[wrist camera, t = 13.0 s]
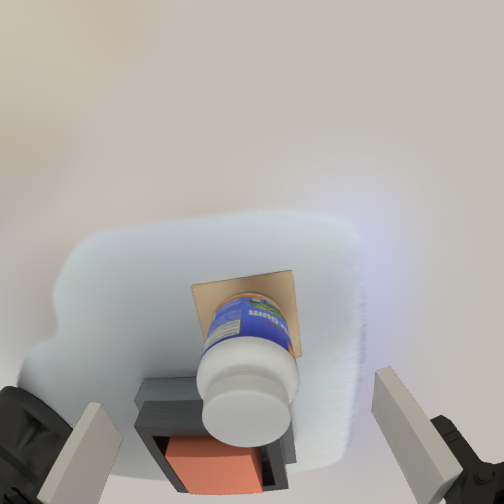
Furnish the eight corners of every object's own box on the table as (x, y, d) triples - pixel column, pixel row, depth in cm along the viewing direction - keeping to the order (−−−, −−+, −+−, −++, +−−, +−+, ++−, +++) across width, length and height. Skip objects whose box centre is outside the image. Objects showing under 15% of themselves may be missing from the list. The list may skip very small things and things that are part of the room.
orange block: (197, 453, 22) (190, 494, 17) (177, 411, 21) (164, 456, 16) (261, 449, 22) (262, 492, 17) (250, 407, 20) (250, 455, 16)
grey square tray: (178, 448, 25) (168, 491, 19) (144, 378, 22) (122, 425, 17) (293, 440, 24) (300, 486, 19) (283, 366, 22) (291, 418, 16)
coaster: (213, 365, 22) (212, 368, 22) (192, 285, 20) (191, 287, 20) (300, 353, 22) (301, 356, 21) (291, 269, 20) (291, 271, 20)
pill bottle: (301, 327, 21) (332, 421, 11) (245, 367, 22) (244, 467, 12) (251, 274, 20) (254, 354, 10) (195, 321, 21) (162, 414, 11)
